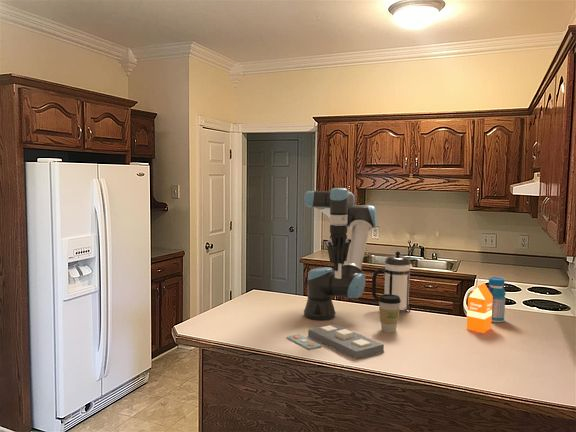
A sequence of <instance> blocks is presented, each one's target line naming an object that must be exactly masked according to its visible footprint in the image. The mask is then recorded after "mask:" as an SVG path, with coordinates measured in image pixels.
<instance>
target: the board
mask: <svg viewBox="0 0 576 432" xmlns="http://www.w3.org/2000/svg"><path fill="white" fill-rule="evenodd" d="M329 325H330V326H332V327H335V328H337V331H338V330H343V329H346V330H349V331H351V332H353V338H350V339H346V340H342V339H340V338H338V337H336V331H334V332H330V333H327V332H325V331H322V330H320V327H325V326H329ZM307 331H308V332H307V336H308V337H309V338H310V339H313V340H316V341H317V342H319V343H321V344H323V345H325V346H328V347H329V348H331V349H334V350H336V351H338V352H340V353H342V354H344V355H346V356H348V357H350V358H351V359H354V360H358V359H362V358H368V357H371V356H374V355H378V354H381V353H384V351H385V350H384V349H385V347H384V345H385V344H383V343H381V342H379V341H376V340H374V339H372V338H370V337H367V336H364V335H362V334H360V333H358V332H356V331H355V332H354V331H352V330H351V329H347V328H346V327H343V326H341V325H338V324H336V323H332V324H328V325H322V326H318V327H312V328H309V329H308V330H307ZM360 339H363V340H365V341H368V342H370V343H371V345H370V346H366V347H362V348H360V347H358V346H356V345H354V344H352V341H355V340H360Z"/></svg>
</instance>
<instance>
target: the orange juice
mask: <svg viewBox="0 0 576 432" xmlns="http://www.w3.org/2000/svg"><path fill="white" fill-rule="evenodd" d="M488 288H489V287H487V285H486V283H485V282H484V283H481V284H480V285H476V287H475V289H474V290H472V292H471V293H470V295H469V296H468V297H467V309H466V310H467V311H466V330H469V331H473V332H478V333H482V334H484V333H486V332H487V331H489V330H491V329H492V321H491V318H492V297H493V296H492V295H491V293H490V291H489V290H488Z"/></svg>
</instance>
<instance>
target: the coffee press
mask: <svg viewBox="0 0 576 432" xmlns="http://www.w3.org/2000/svg"><path fill="white" fill-rule="evenodd" d="M394 253H395V255H390V256H387V257H386V258H385V260H384V266H385V267H384V268H379V269H377V270H375V271H374V272H373V274H372V279H371V295H372V298H373V299H375V300H376V301H378V299H379V297H380V296H377V292H376V291H377V276H378V275H379V274H382V273H384V294H392V295H397V296H399V297H400V300H401V302H400V305H399V311H402V310H404V311H405V312H406V313H407V314H409V313H410V312H411V309H410V307H409V303H410V300H409V298H410V297H409V296H410V275H411V268H413V264H412V263H411V261H410V260H411V259H409V258H408V256H407V257H406V256H403V255H401V253H400V251H396V252H394Z"/></svg>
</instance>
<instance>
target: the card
mask: <svg viewBox="0 0 576 432" xmlns="http://www.w3.org/2000/svg"><path fill="white" fill-rule="evenodd" d="M285 338H286V339H287V340H289V341H291V342H293V343H295V344H297V345H298V346H301V347H303V348H305V349H307V350H309V351H311V350H315V349H319V348H322V345H321V344H320V343H318V342H316V341H313V340H311V339H309V338H307V337H305V336H302V335H300V334H293V335H289V336H286V337H285Z"/></svg>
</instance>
